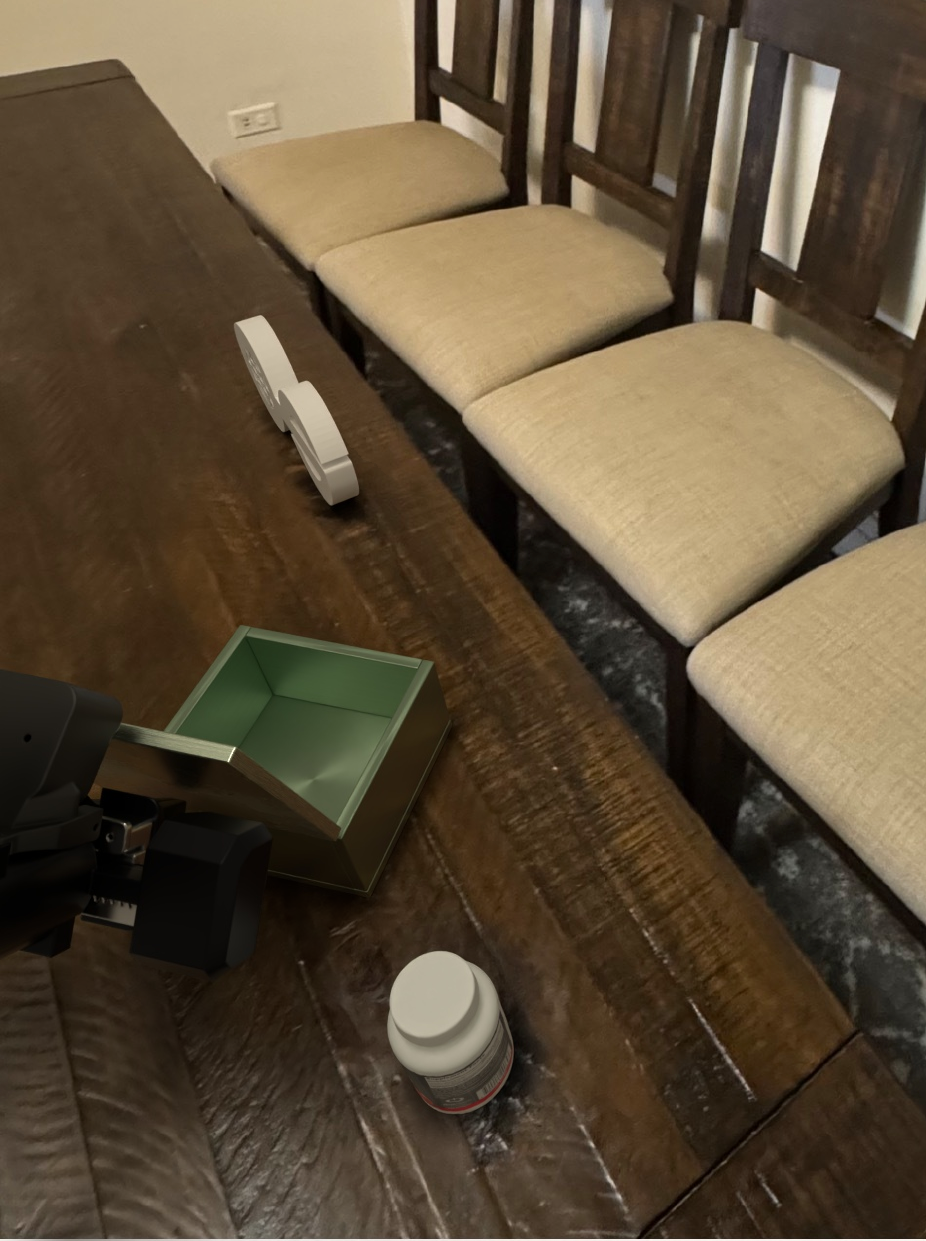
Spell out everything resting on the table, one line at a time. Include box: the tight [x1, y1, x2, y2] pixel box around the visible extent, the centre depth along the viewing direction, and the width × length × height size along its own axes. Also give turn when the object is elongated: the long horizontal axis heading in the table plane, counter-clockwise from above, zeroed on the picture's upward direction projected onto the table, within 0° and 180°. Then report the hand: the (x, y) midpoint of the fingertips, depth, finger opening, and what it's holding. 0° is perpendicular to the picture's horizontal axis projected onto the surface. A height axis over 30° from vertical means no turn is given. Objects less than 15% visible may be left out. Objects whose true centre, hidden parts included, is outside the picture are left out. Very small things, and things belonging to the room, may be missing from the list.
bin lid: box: [93, 722, 341, 841], centre depth 50 cm, size 13×14×1 cm
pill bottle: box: [386, 950, 515, 1115], centre depth 51 cm, size 5×5×10 cm
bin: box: [163, 624, 453, 899], centre depth 63 cm, size 13×14×7 cm
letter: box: [233, 314, 360, 506], centre depth 86 cm, size 22×2×10 cm, turn 36°
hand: (178, 808), depth 52 cm, fingers closed
